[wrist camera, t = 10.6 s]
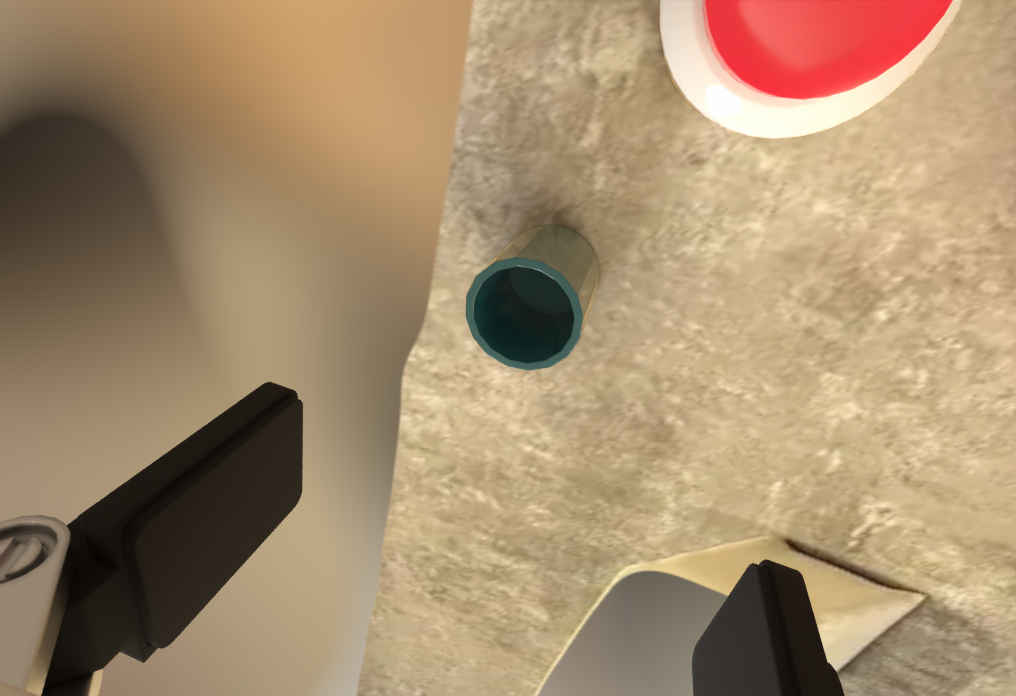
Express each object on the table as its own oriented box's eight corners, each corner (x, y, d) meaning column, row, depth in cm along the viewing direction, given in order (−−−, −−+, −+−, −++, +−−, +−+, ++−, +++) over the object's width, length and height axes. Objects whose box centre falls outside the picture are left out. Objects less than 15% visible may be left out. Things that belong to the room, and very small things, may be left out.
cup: (492, 237, 28) (449, 273, 23) (586, 212, 26) (564, 245, 21) (520, 324, 30) (486, 377, 25) (609, 308, 28) (595, 360, 23)
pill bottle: (813, 140, 22) (917, 176, 13) (639, 104, 24) (620, 113, 14) (911, -82, 19) (1161, -260, 9) (699, -112, 20) (725, -295, 10)
